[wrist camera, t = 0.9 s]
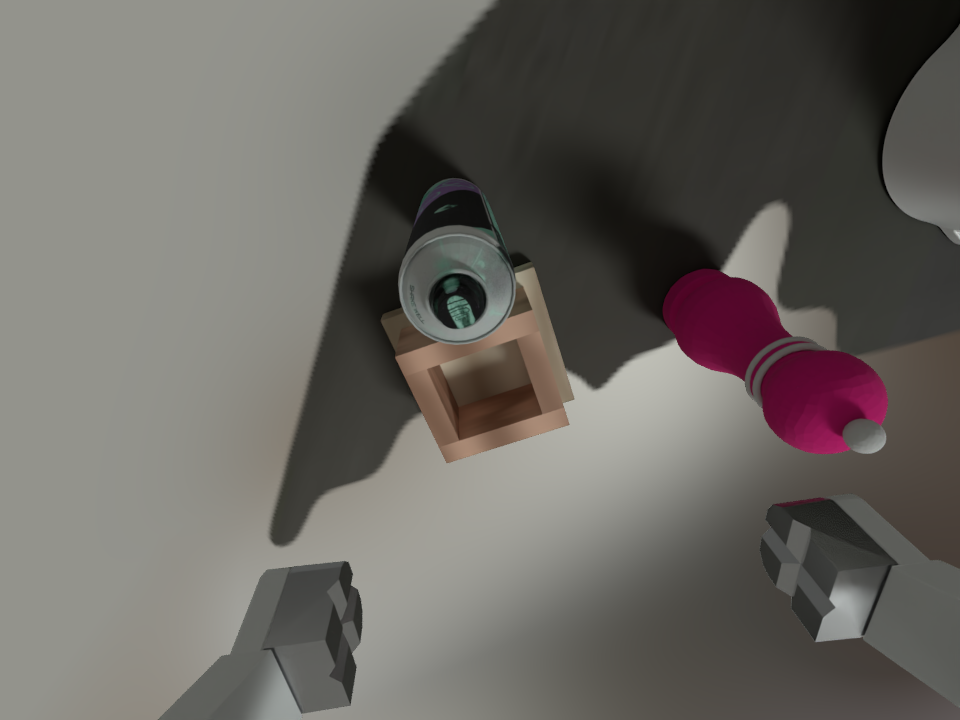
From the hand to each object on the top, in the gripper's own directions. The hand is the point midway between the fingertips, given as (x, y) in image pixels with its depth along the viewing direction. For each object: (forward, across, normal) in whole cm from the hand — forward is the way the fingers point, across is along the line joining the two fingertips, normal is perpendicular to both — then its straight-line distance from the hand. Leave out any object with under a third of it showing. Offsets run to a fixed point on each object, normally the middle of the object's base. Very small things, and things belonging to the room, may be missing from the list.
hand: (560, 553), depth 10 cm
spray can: (+32, +1, -1) cm, 32 cm away
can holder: (+32, 0, +11) cm, 34 cm away
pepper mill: (+32, -19, +9) cm, 38 cm away
